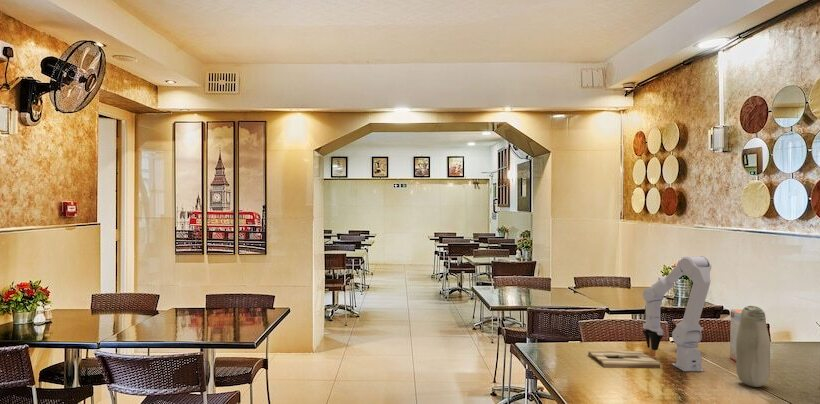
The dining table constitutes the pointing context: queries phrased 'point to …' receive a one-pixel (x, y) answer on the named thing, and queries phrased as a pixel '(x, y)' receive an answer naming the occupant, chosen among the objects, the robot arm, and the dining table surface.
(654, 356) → the keyhole peg
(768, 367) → the grey bottle
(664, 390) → the dining table surface
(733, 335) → the cracker box
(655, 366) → the keyhole board
